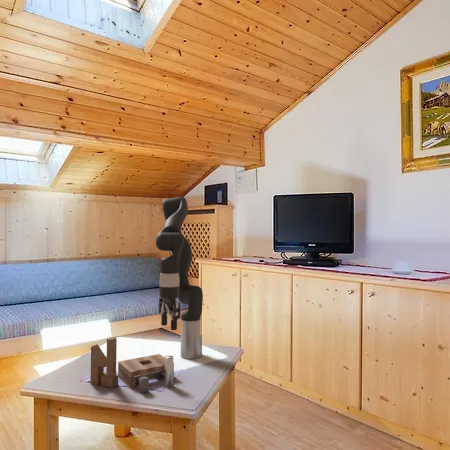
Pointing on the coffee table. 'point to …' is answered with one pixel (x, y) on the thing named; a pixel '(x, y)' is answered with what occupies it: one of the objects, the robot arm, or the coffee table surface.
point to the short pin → (143, 385)
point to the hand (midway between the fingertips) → (168, 327)
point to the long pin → (168, 371)
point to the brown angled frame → (104, 364)
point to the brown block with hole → (140, 368)
